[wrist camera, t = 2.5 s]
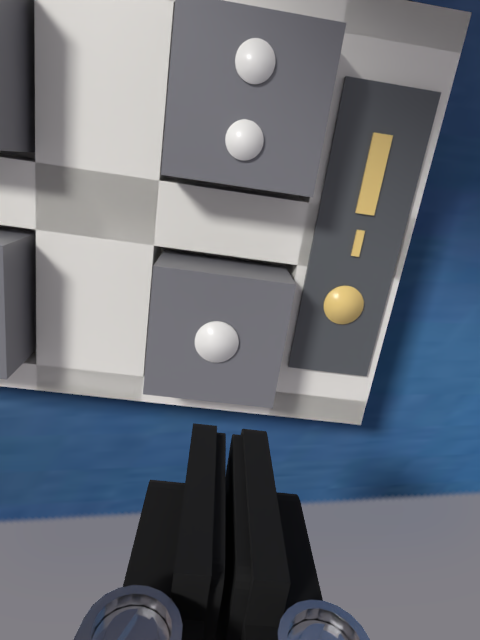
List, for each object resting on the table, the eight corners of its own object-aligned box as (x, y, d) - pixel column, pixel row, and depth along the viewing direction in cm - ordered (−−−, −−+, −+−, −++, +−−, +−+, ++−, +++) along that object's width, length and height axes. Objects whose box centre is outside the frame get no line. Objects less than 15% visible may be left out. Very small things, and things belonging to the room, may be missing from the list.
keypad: (-206, -76, 16) (-327, -143, 13) (426, 39, 18) (476, 9, 15) (-145, 332, 21) (-219, 366, 18) (341, 387, 23) (362, 428, 20)
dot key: (164, 249, 18) (153, 266, 15) (285, 266, 19) (296, 285, 16) (154, 360, 20) (142, 395, 17) (265, 373, 20) (272, 409, 17)
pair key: (184, 22, 16) (175, -10, 13) (324, 47, 16) (347, 22, 13) (171, 172, 17) (160, 174, 14) (298, 191, 18) (313, 197, 15)
